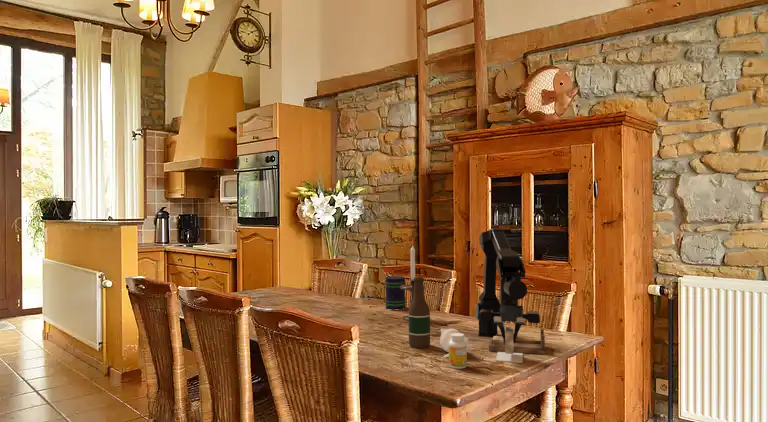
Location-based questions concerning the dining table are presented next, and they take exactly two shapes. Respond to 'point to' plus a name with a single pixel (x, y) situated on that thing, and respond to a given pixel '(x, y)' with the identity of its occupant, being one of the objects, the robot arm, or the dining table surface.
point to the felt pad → (509, 357)
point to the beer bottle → (419, 317)
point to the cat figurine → (446, 339)
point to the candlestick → (411, 286)
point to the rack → (523, 346)
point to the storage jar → (395, 292)
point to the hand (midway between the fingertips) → (509, 342)
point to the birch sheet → (509, 339)
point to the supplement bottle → (457, 351)
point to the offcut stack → (498, 340)
